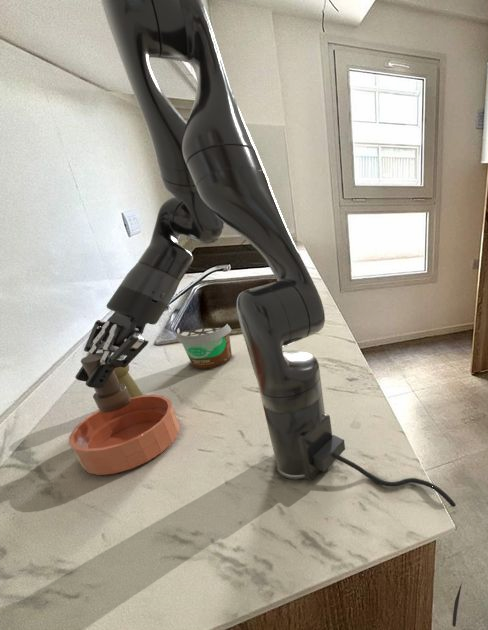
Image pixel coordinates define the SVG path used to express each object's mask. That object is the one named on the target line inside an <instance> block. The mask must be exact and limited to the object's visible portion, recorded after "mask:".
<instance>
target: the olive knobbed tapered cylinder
mask: <svg viewBox="0 0 488 630" xmlns="http://www.w3.org/2000/svg"><path fill="white" fill-rule="evenodd" d="M124 359H125V358H124ZM124 359H123V360H124ZM129 372H130V363H129V364H128V365H127V366H126V367H125V368H123V367H118V368H115V369H114V373H115V375H116V377H117V379H118V381H119V384H123V385H125V386H126V388H127V391H128V393H129V395H130V397H131V398H132V397H137V396H141V395H144V394H143V392H142V390H141V389H140V388H139V386H138V385H137V384H136V382H135V380H134V379H133V377H132V376H131V374H130V373H129Z"/></svg>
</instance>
